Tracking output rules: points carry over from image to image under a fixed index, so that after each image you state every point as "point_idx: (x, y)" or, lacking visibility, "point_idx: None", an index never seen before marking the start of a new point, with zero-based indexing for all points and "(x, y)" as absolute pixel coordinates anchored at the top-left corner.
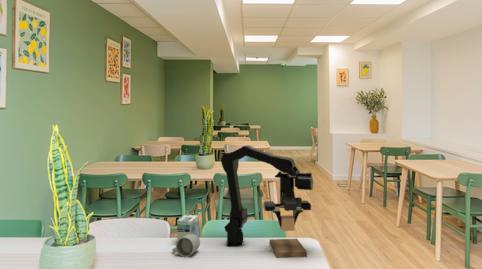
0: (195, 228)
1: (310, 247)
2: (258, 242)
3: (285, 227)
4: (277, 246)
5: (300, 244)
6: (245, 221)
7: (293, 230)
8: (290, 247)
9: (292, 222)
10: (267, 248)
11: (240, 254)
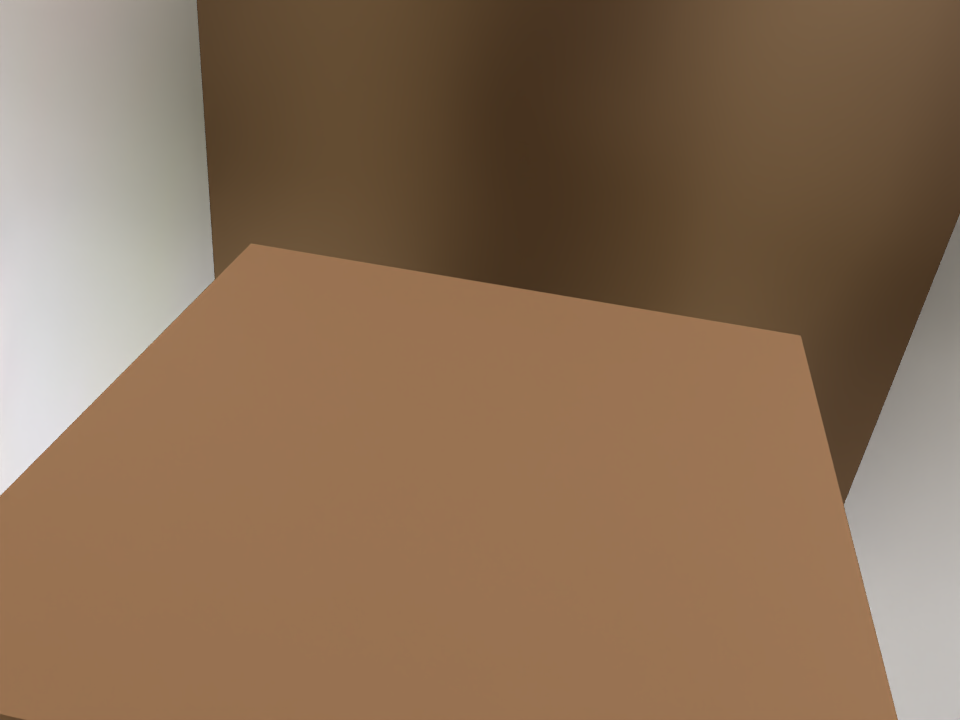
0: None
1: (60, 222)
2: (935, 699)
3: (642, 395)
4: (831, 225)
5: (231, 213)
6: None
7: (287, 252)
8: (530, 67)
9: (159, 486)
10: (938, 401)
11: None
